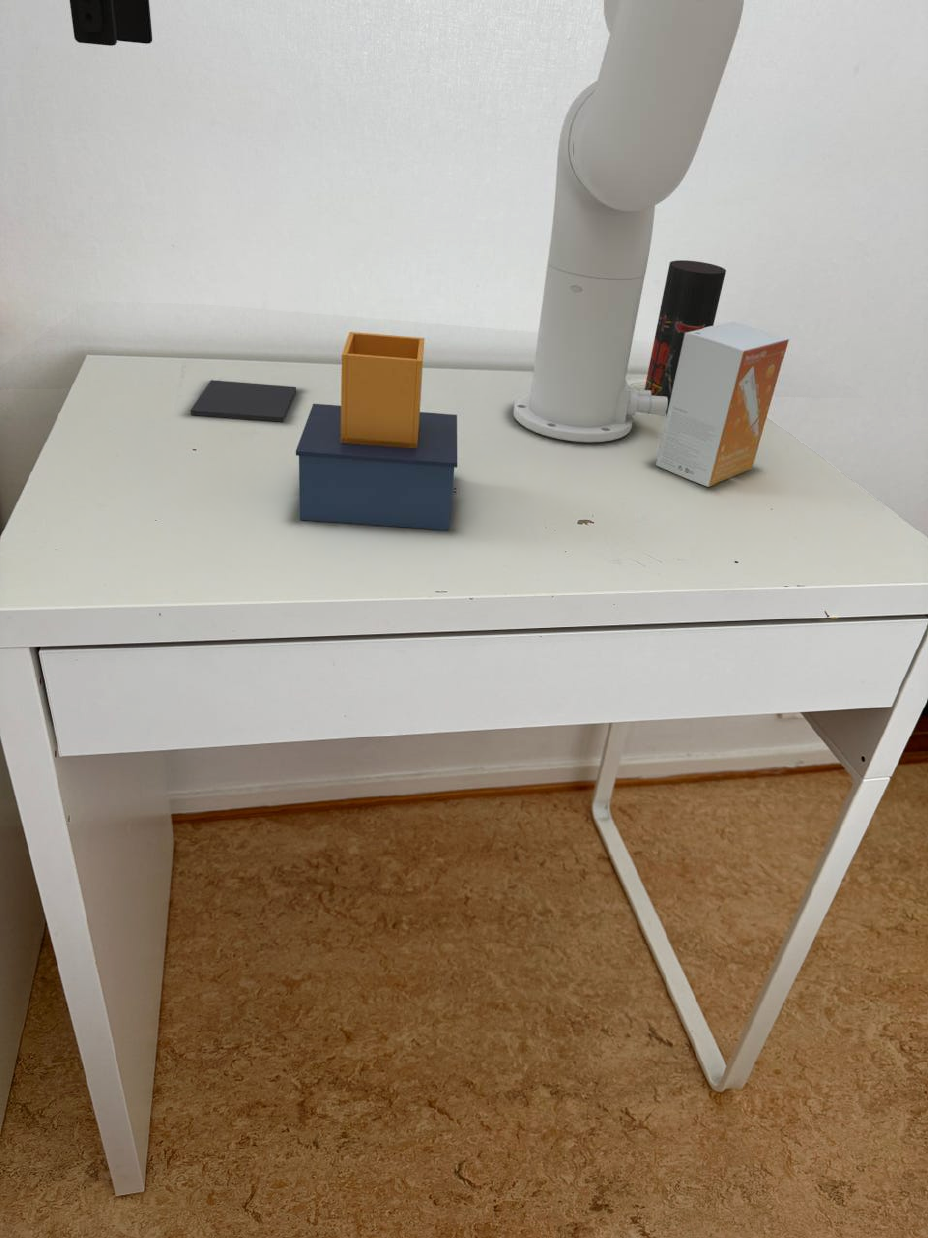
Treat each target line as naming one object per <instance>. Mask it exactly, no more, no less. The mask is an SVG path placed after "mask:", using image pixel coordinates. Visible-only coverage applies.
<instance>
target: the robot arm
mask: <svg viewBox="0 0 928 1238" xmlns="http://www.w3.org/2000/svg"><path fill="white" fill-rule="evenodd" d="M744 4H745V0H603V16H604V20H605V24H606V28H607V30H608V33H609V35H608V40H607V44H606V47H605V52H604V54H603V59H602V62H601V66H600V70H599V74H598V77H597V80H596V81H594V82H592V83H591V84H590V85H588V86H587V87H585V88H584V89H583V90H582V91H581V92H580V93H579V94H578V95H576V97H575V99H574V100H573V102H572V103H571V105H570V106H569V108H568V110H567V112H566V115H565V117H564V120H563V123H562V126H561V130H560V134H559V140H558V148H557V159H556V172H555V173H556V174H555V192H554V205H553V214H552V215H553V216H552V225H551V233H550V242H549V250H548V258H547V265H546V271H545V279H544V286H543V287H544V288H543V293H542V294H543V295H542V303H541V309H540V318H539V326H538V333H537V341H536V350H535V358H534V365H533V373H532V380H531V381H532V382H531V387H530V392H529V393H527V394H523V395H521V396H519V397H518V398H517V399H516V400H515V401H514V405H513V417H514V418H515V420H516V421H517V422H518V424H520V425H521V426H523V427H524V428H526V429H528V430H530V431H532V432H533V433H537V434H540V435H542V436H545V437H548V438H553V439H555V440H556V439H557V440H561V441H567V442H577V443H604V442H612V441H615V440H619V439H621V438H624V437H626V435H628V434H629V433H630V432H631V430H632V428H633V421H634V418H633V417H634V416H635V415H636V414H637V413H643V414H647V415H655V416H665V415H667V412H666V411H667V406H668V398H667V397H664V396H652V395H651V391H650V390H644V389H631V388H630V386H629V384H628V382H627V380H626V378H627V373H628V367H629V363H630V357H631V352H632V347H633V340H634V335H635V330H636V324H637V320H638V313H639V309H640V303H641V298H642V294H643V293H642V292H643V287H644V281H645V276H646V273H647V267H648V263H649V256H650V250H651V243H652V238H653V229H654V220H655V212H656V211H655V210H656V205H658V204H660V203H662V202H663V201H665V199H667V198H668V197H669V196H671V195H672V193H674V192H675V190H676V189H677V188H678V187H679V186H680V185H681V183H682V181H683V180H684V178H685V177H686V175H687V173H688V172H689V169H690V168H691V165H692V163H693V160H694V158H695V156H696V154H697V151H698V148H699V145H700V143H701V140H702V137H703V135H704V131H705V129H706V125H707V123H708V120H709V117H710V114H711V112H712V108H713V105H714V103H715V99H716V96H717V93H718V91H719V88H720V85H721V83H722V79H723V76H724V73H725V70H726V67H727V64H728V62H729V58H730V55H731V53H732V49H733V46H734V43H735V40H736V37H737V34H738V30H739V27H740V23H741V20H742V19H741V18H742V15H743V9H744ZM69 7H70V14H71V16H70V17H71V22H72V30H73V37H74V40H75V42H77V43H79V44H88V45H89V44H90V45H101V46H109V47H113V46H115V45H117V43H118V42H125V43H136V44H145V45H149V44H151V43H152V42H153V31H152V20H151V19H152V18H151V8H150V7H151V6H150V0H69Z"/></svg>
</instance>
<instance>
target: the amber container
mask: <svg viewBox="0 0 928 1238" xmlns="http://www.w3.org/2000/svg"><path fill="white" fill-rule="evenodd" d="M424 352H425V337H418V336H417V337H416V336H406V335H405V336H404V335H394V334H381V333H380V334H379V333H368V332H354V331H349V332H348V336H347V338H346V341H345V344H344V348H343V351H342V353H341V386H340V387H341V389H340V391H341V393H340V394H341V395H340V396H341V397H340V402H341V403H340V406H341V443H351V444H364V445H377V446H391V447H404V448H417V443H418V431H419V419H420V412H421V403H422V402H421V401H422V388H423V387H422V384H423V370H424V369H423V368H424Z"/></svg>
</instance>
